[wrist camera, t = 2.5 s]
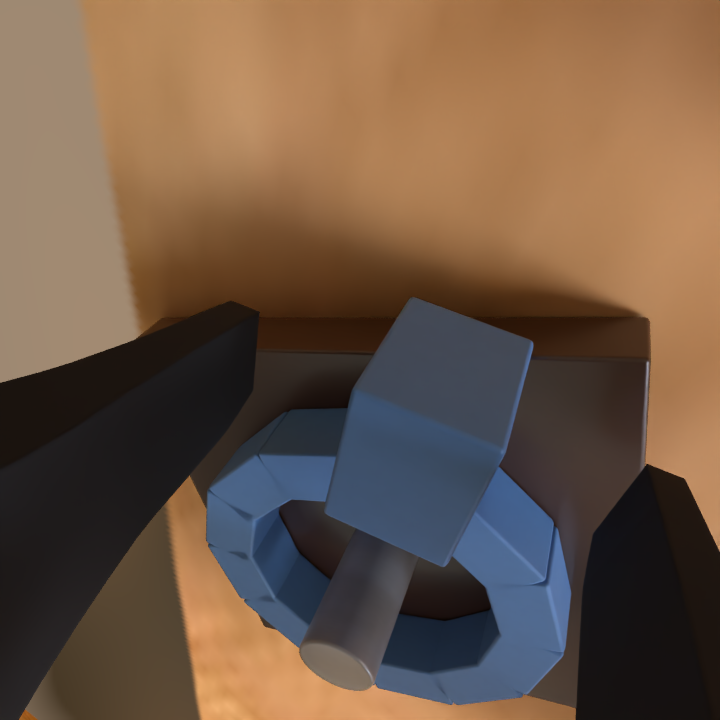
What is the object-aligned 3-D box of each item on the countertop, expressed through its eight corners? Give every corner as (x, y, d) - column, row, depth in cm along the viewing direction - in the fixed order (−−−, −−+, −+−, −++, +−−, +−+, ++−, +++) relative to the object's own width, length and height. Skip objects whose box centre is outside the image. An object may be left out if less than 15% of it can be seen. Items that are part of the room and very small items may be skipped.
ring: (494, 687, 18) (472, 798, 15) (231, 559, 19) (176, 644, 17) (725, 409, 10) (749, 552, 8) (254, 235, 11) (158, 310, 9)
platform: (632, 672, 17) (628, 880, 13) (283, 592, 22) (209, 727, 18) (650, 315, 11) (654, 516, 7) (160, 316, 16) (13, 435, 12)
